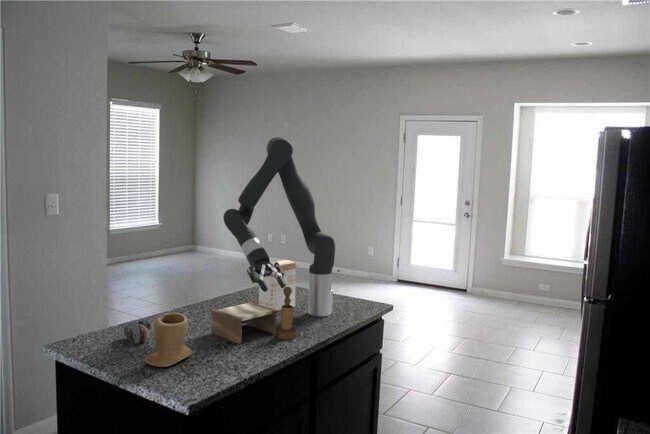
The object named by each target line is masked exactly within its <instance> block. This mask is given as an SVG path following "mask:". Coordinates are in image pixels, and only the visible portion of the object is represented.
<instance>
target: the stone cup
mask: <svg viewBox="0 0 650 434" xmlns="http://www.w3.org/2000/svg"><path fill="white" fill-rule="evenodd" d="M153 328H154V329H153V338H154V339H153V340H154V341H155V346H156V351H155V352H152V353H151V354H149V355H148V356H146V357H145V359H144V362H145V363H146V364H147V365H151V366H154V367H160V368H165V367H166V368H167V367H170V366H173V365H175V364H177V363H180V361H182V360H184V359H186V358H187V357H189V356H191V355H193V351H192V349H191V348H190V347H188V346H187V345H186V344H185V343H184V342H185V340H186V337H187V334H188V329H189V320H188V318H187V316H186V315H185V314H183V313H180V312H167V313H163V314H162V315H160V316H159V317H157V318H156V320H155V322H154V326H153Z"/></svg>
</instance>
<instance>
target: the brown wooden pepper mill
mask: <svg viewBox="0 0 650 434" xmlns="http://www.w3.org/2000/svg"><path fill="white" fill-rule="evenodd" d="M283 292H284V295H285V299H284V302H285V305H283V306H282V310H281V323H280V324H281V325H280V328H278V329H277V333H276V334H277V338H278V339H281V340H284V341H285V340H287V341H288V340H289V341H290V340H294V339H295V338H297V336H296V335H297V330H296V329H295V328H294V327H293V319H294V318H293V317H294V316H293V315H294V314H293V313H294V312H293V311H294V307H293V306H292V305H290V301H291V300H290V298H289V297H290V295H291V293H292V289H291V288H290V287H285V288H284V290H283Z"/></svg>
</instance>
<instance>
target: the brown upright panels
mask: <svg viewBox="0 0 650 434" xmlns="http://www.w3.org/2000/svg"><path fill="white" fill-rule="evenodd" d="M246 303H249V304H252V305H255V306H259V307H262V308H265V309H269V310H272V314H268V315H264V316H260V317H256V318H252V321H250V322H246V323H245V325H248V326H250V327H254V328H257V329H259V330H261V331H265V332H268V333H271V334H277V318H278V317H277V316H278V315H277V313H278V312H277V310H275V309H271V308H268V307H265V306H261V305H259V303H254V302H252V301H251V302H250V301H248V302H246ZM217 310H218V309H211V334H212V335H215V336H217V337H220V338H222V339H226V340H228V341H231V342H233V343H235V344H238V345H240V344H242V343H243V340H242V337H243V335H242V333H243V329H242V328H243V324H242V319H241V318H238V317H235V316H232V315H229V314H226V313H223V312H220V311H217Z"/></svg>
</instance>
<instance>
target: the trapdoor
mask: <svg viewBox="0 0 650 434" xmlns="http://www.w3.org/2000/svg"><path fill="white" fill-rule="evenodd" d="M216 310H217V311H220V312H223V313H226V314H229V315H232V316H235V317H238V318H241V319H242V325H243V324H246V322H250V321H252V318H256V317H260V316H264V315H268V314H272V310H269V309H265V308H262V307H259V306H255V305H252V304H249V303H247V302H246V303H243V304H238V305H233V306H232V305H231V306H228V307H224V308H220V309H216Z"/></svg>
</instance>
